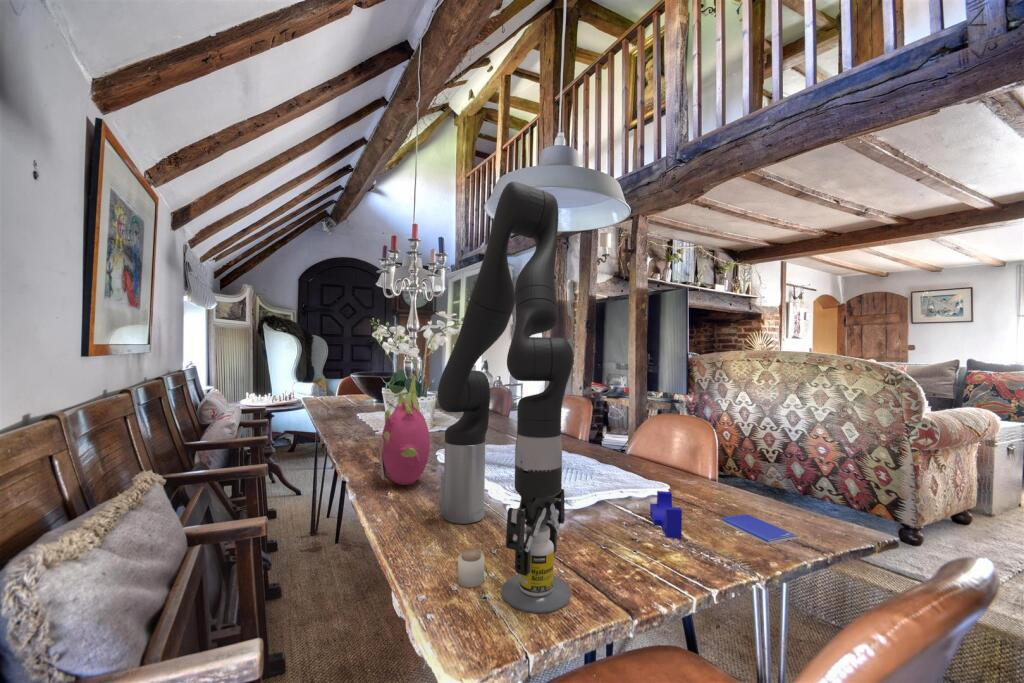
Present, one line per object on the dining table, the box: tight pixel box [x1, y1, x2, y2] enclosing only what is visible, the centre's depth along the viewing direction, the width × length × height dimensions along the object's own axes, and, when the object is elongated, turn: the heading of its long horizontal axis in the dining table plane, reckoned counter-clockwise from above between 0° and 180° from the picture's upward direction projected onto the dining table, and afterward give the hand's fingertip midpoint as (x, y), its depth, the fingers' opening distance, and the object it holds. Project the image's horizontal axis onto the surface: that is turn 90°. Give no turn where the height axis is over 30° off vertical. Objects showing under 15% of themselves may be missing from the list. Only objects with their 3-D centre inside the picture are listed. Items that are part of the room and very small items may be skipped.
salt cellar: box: [457, 547, 485, 589], centre depth 79 cm, size 4×4×5 cm
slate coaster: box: [501, 573, 572, 614], centre depth 75 cm, size 11×11×1 cm
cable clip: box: [649, 490, 683, 539], centre depth 103 cm, size 12×4×6 cm, turn 172°
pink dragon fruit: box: [379, 375, 431, 486], centre depth 129 cm, size 18×14×30 cm
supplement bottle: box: [520, 525, 555, 597], centre depth 75 cm, size 5×5×10 cm
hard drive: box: [721, 513, 798, 545], centre depth 102 cm, size 2×8×12 cm
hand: (536, 562), depth 75 cm, fingers open, 8 cm apart
